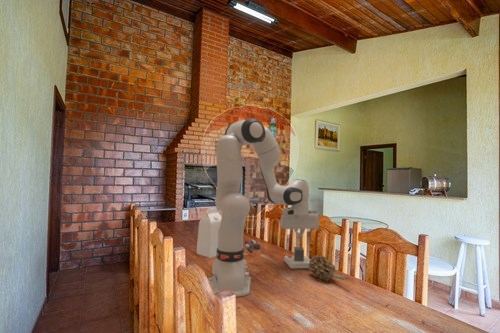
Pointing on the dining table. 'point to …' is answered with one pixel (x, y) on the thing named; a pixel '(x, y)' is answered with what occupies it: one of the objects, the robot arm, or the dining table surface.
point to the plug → (298, 254)
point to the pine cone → (323, 268)
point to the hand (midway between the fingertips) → (299, 237)
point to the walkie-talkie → (252, 245)
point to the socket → (296, 263)
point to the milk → (208, 233)
